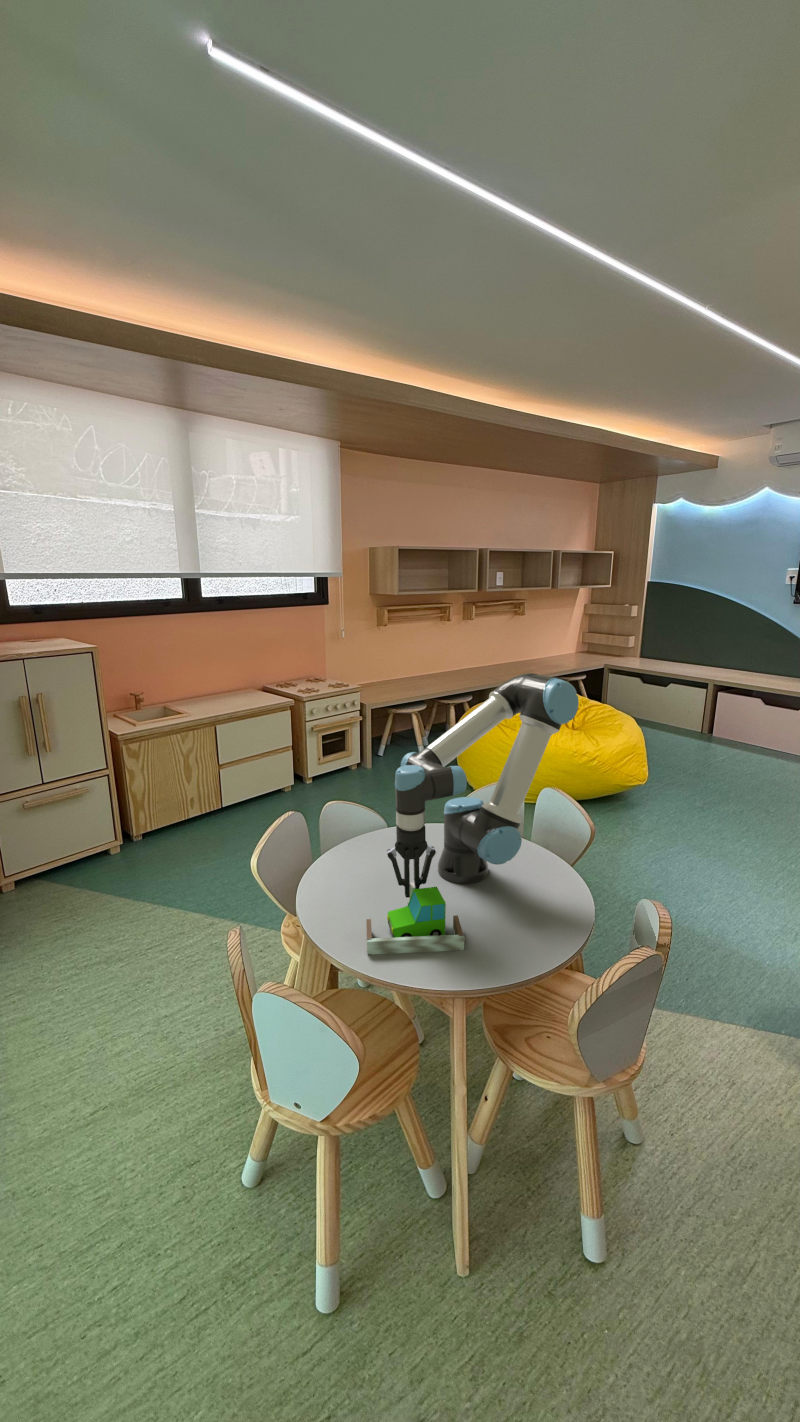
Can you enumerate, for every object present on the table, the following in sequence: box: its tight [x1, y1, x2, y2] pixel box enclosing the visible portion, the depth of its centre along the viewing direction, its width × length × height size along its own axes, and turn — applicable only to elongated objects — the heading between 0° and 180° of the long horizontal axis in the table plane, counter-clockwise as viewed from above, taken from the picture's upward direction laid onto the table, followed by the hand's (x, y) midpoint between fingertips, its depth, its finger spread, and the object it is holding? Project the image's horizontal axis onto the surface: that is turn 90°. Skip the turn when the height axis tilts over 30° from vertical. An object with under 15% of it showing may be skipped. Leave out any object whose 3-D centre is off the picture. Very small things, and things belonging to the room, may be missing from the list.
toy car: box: [386, 886, 447, 938], centre depth 153 cm, size 10×13×10 cm
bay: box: [366, 914, 465, 955], centre depth 151 cm, size 23×10×4 cm, turn 94°
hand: (412, 907), depth 162 cm, fingers closed
